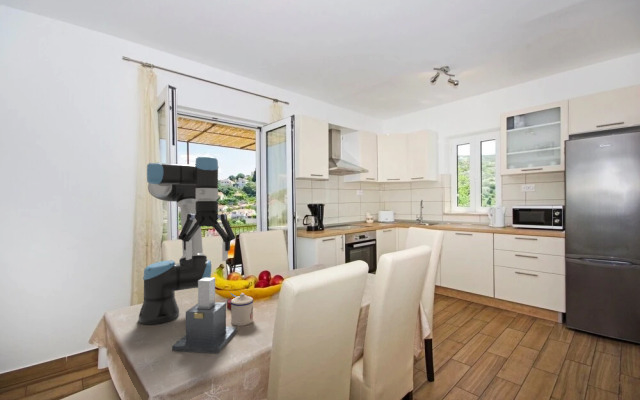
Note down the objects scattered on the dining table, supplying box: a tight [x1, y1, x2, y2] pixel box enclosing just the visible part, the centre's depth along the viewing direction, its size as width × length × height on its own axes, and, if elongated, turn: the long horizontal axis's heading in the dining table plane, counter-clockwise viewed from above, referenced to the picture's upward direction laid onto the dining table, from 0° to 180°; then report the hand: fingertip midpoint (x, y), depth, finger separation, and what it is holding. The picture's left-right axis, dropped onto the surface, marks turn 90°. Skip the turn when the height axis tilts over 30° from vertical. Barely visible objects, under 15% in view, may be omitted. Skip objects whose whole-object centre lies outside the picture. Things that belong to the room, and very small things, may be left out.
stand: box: [171, 301, 238, 354], centre depth 104 cm, size 16×16×12 cm
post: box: [197, 277, 216, 310], centre depth 104 cm, size 4×4×20 cm
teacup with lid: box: [230, 292, 254, 327], centre depth 121 cm, size 12×9×12 cm
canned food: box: [226, 293, 238, 310], centre depth 138 cm, size 11×10×10 cm
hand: (206, 259), depth 104 cm, fingers open, 13 cm apart
